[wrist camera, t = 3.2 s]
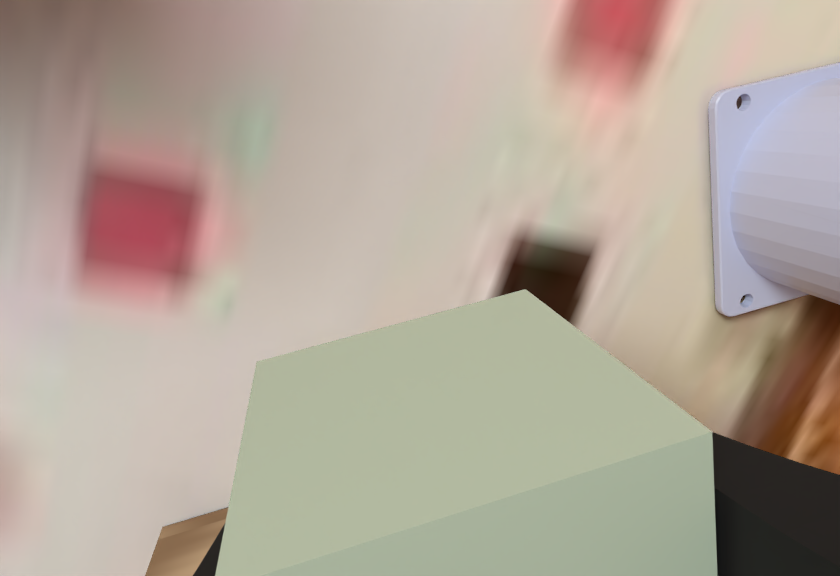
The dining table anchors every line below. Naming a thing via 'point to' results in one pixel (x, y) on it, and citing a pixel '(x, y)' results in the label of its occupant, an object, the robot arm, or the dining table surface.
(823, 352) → the dining table surface
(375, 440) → the pale green cube
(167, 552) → the wooden tray
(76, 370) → the dining table surface
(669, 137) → the dining table surface
